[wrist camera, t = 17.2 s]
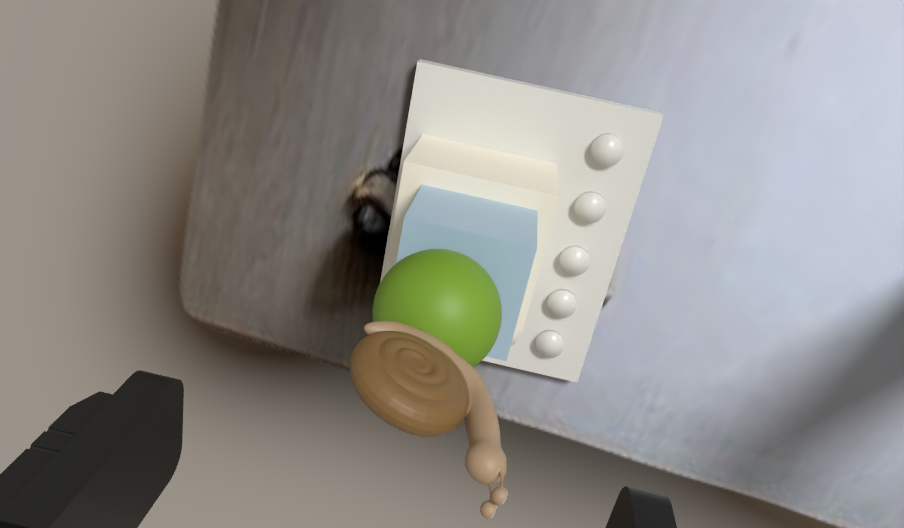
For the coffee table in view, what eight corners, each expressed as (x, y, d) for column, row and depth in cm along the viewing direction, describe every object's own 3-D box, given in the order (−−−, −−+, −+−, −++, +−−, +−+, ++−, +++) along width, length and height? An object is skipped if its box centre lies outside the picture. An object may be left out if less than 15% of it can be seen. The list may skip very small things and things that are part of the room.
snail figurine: (485, 366, 33) (457, 566, 22) (367, 302, 32) (278, 475, 21) (546, 279, 31) (550, 453, 20) (421, 208, 30) (353, 347, 19)
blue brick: (422, 184, 35) (404, 217, 30) (537, 210, 35) (537, 247, 30) (402, 287, 37) (383, 332, 33) (510, 312, 37) (506, 361, 33)
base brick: (422, 134, 40) (403, 161, 34) (557, 164, 40) (559, 196, 34) (400, 257, 43) (380, 299, 38) (524, 286, 43) (522, 332, 38)
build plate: (420, 59, 39) (415, 62, 38) (661, 112, 39) (665, 117, 37) (374, 327, 47) (369, 338, 45) (576, 374, 46) (577, 386, 45)
